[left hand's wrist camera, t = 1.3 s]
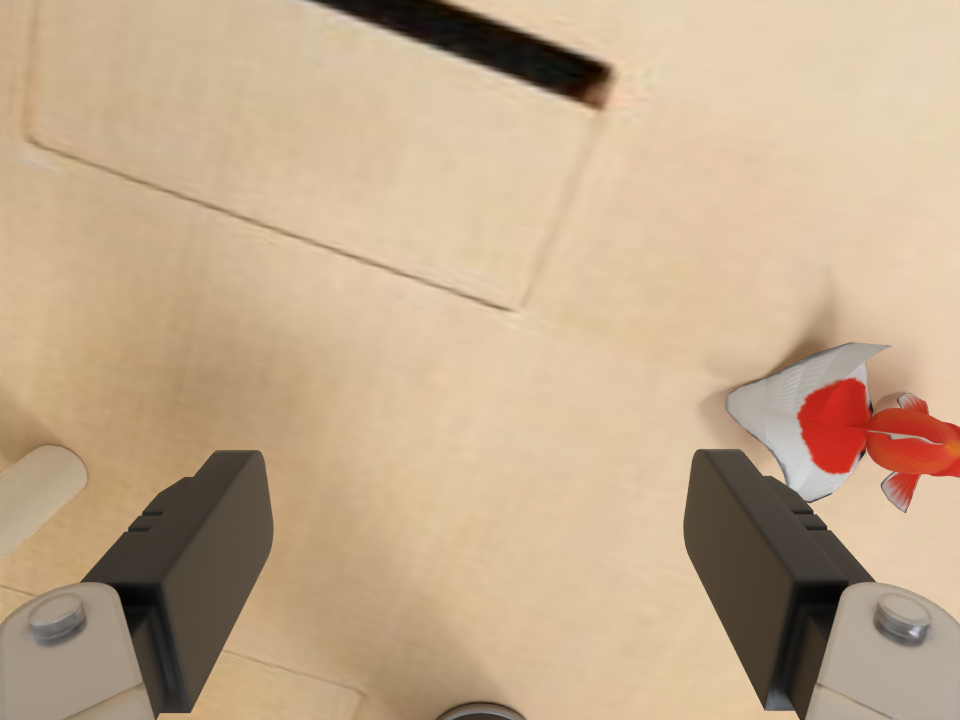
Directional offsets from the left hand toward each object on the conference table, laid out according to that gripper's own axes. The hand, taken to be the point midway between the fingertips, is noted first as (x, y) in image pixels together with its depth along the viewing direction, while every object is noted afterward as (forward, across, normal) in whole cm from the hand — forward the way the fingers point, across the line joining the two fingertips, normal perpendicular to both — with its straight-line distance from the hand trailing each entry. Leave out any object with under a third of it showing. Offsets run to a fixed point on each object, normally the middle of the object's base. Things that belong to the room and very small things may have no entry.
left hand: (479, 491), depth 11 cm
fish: (+29, +24, -12) cm, 40 cm away
